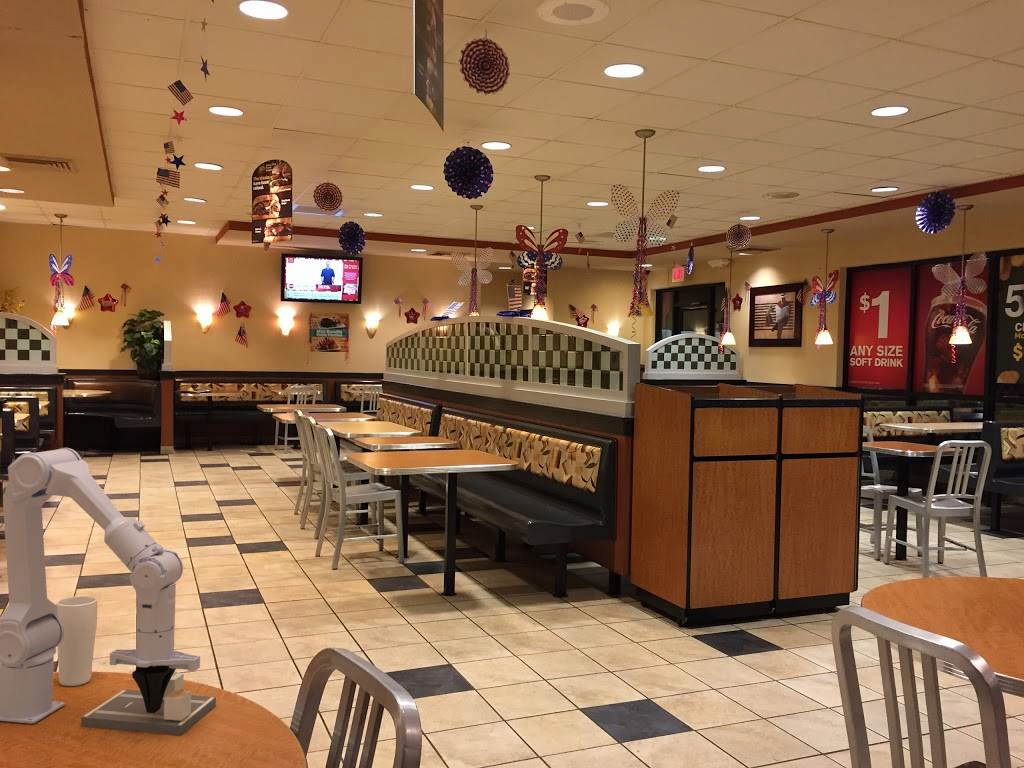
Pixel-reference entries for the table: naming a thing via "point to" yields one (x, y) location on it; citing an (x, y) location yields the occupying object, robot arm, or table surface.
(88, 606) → the drinking glass
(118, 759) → the table surface
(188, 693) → the fader
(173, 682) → the fader
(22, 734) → the table surface
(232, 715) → the table surface
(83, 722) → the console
